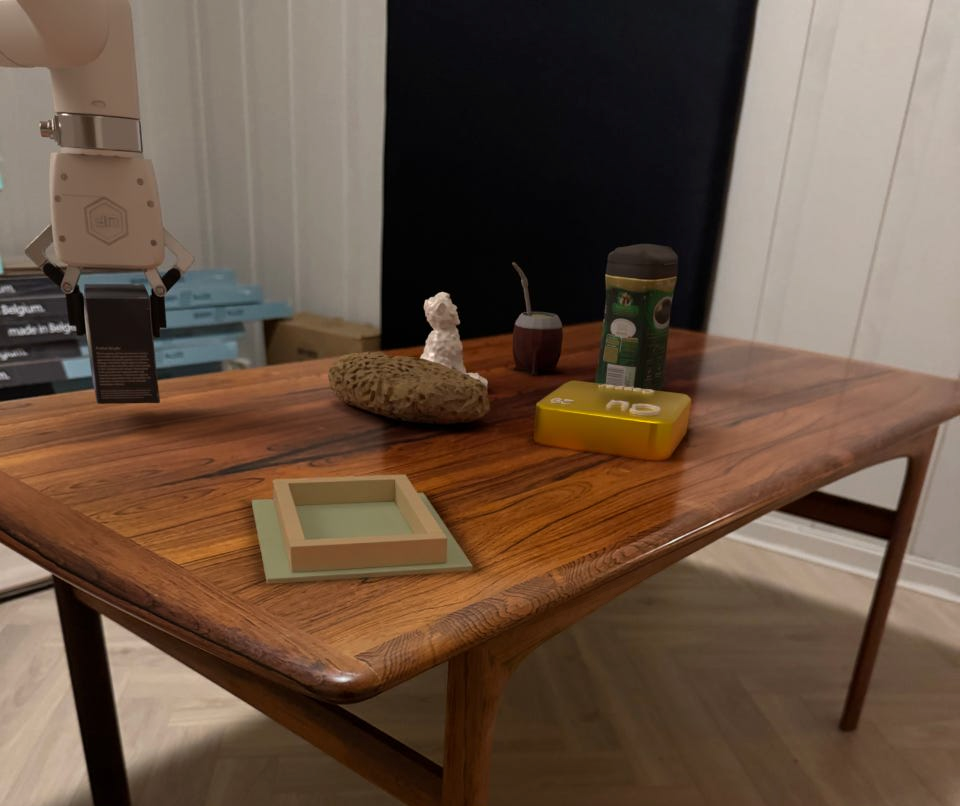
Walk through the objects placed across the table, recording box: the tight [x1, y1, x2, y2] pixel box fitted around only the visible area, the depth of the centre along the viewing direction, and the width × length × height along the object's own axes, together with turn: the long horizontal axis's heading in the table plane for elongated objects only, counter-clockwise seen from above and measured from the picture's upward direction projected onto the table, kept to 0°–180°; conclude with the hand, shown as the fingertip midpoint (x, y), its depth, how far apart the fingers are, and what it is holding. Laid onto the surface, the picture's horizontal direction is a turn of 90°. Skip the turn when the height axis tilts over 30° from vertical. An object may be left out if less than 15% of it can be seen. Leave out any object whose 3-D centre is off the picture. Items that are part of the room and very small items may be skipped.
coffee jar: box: [594, 243, 679, 391], centre depth 123 cm, size 10×8×19 cm
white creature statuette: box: [419, 291, 489, 392], centre depth 122 cm, size 10×9×12 cm
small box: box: [83, 283, 161, 405], centre depth 98 cm, size 11×6×10 cm, turn 21°
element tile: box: [533, 380, 692, 462], centre depth 106 cm, size 15×15×5 cm
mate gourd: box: [511, 261, 564, 377], centre depth 133 cm, size 8×8×15 cm
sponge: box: [327, 351, 491, 426], centre depth 109 cm, size 13×8×20 cm
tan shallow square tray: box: [251, 474, 474, 585], centre depth 76 cm, size 15×17×3 cm
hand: (119, 333), depth 98 cm, fingers closed on small box, 6 cm apart
